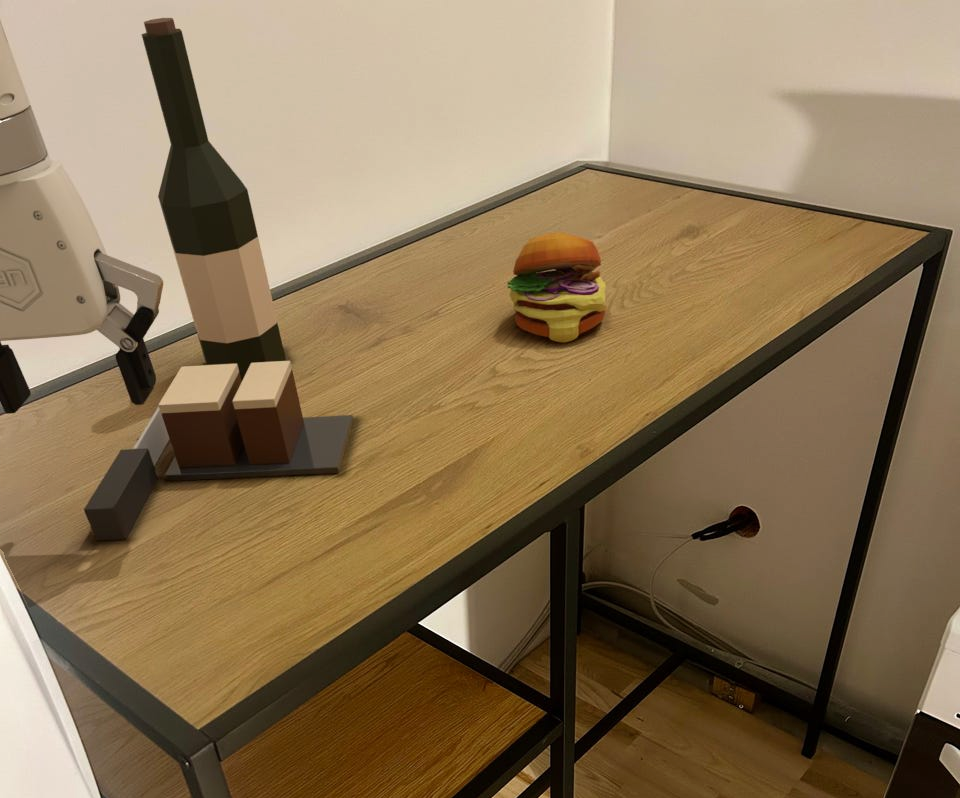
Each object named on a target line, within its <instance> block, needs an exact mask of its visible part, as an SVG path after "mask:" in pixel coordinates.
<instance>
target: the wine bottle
mask: <svg viewBox="0 0 960 798" xmlns="http://www.w3.org/2000/svg"><path fill="white" fill-rule="evenodd" d="M143 25H144V29H145V32H144V33H142V34H141V38H142V42H143V46H144V49H145V53H146V57H147V60H148V64H149V68H150V71H151V75H152V79H153V82H154V87H155V90H156V94H157V98H158V101H159V105H160V109H161V112H162V116H163V117H162V118H163V120H164V123H165V127H166V131H167V135H168V139H169V142H170V147H169V150H168V153H167V159H166V163H165V166H164V171H163V175H162V179H161V183H160V187H159V190H158V195H157V198H158V201H159V204H160V209H161V210H162V216H163V219H164V221H165V222H164V223H165V226H166V229H167V233H168V236H169V241H170V243H171V247H172V250H173V254H174V256H175V260H176V264H177V268H178V271H179V275H180V278H181V281H182V286H183V289H184V292H185V295H186V300H187V303H188V306H189V310H190V313H191V317H192V320H193V325H194V327H195V331H196V335H197V337H198V341H199V344H200V348H201V351H202V356H203V359H204V363H205V365H220V364H237V365H238V369H239V373H240V377H241V381H242V380H243V378H244V376H245V374H246V372H247V370H248V368H249V366H250V364H251V363H257V362H275V361H287V358H286V355H285V350H284V345H283V341H282V337H281V331H280V327H279V323H278V319H277V314H276V311H275V306H274V301H273V298H272V297H273V296H272V293H271V292H272V291H271V289H270V283H269V278H268V274H267V271H266V266H265V261H264V257H263V253H262V248H261V243H260V239H259V235H258V231H257V226H256V221H255V217H254V213H253V212H254V211H253V208H252V205H251V200H250V195H249V189H248V188H247V187H246V186H245V184H244V183H243V181H242V180H241V178H239V176H238V175H237V174H236V172H235V171H234V170H233V169H232V168H231V166H230V165H229V164H228V163H227V161H226V160H225V159H224V158H223V157H222V156H221V154H220V153H219V151H218V150H217V149H216V148H215V146H213V144H212V143H211V142H210V140H209V137H208V133H207V129H206V124H205V121H204V117H203V113H202V109H201V104H200V101H199V96H198V92H197V88H196V84H195V80H194V75H193V72H192V71H193V70H192V68H191V63H190V60H189V55H188V51H187V46H186V43H185V39H184V34H183V30H182V29H180V28H176V24H175V20H174V18H173V17H160V18H152V19H149V20H144V21H143Z"/></svg>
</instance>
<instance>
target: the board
mask: <svg viewBox="0 0 960 798" xmlns="http://www.w3.org/2000/svg"><path fill="white" fill-rule="evenodd" d="M303 420H304V424H303V426H302V429H301V432H300V435H299V438H298V440H297V443H296V446H295V449H294V451H293V454H292V457H291V460H290V463H277V464H256V465H250V464H249V461H248V457H247V453H246V450H245V446H244V447H243V449H242V451H241V454H240V456H239V458H238V461H237V463H236V465H233V466H212V467H191V468H179V466H178V463H177V460H176V457H175V456H174V457H173V458H172V461H171V463H170V465H169V466H168V468H167V469H166V472H165V474H164V478H165V481H166V482H175V481H176V482H177V481H178V482H179V481H197V480H218V479H219V480H220V479H239V478H262V477H280V476H281V477H283V476H304V475H306V476H307V475H325V474H328V475H329V474H339V473H340V470H341V467H342V462H343V460H344V455H345V452H346V449H347V445H348V442H349V438H350V435H351V431H352V428H353V424H354V420H355V419H354V416H353V414H345V415H344V414H343V415H327V416H324V415H323V416H307V417H305V416H303Z"/></svg>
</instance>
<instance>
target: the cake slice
mask: <svg viewBox="0 0 960 798" xmlns="http://www.w3.org/2000/svg"><path fill="white" fill-rule="evenodd" d="M232 402H233V405H234V409H235V413H236V417H237V420H238V424H239V428H240V431H241V435H242V439H243V442H244V446H245V450H246V453H247V457H248V461H249V464H250V465H256V464H277V463H290V460H291V457H292V454H293V451H294V449H295V446H296V443H297V440H298V438H299V435H300V432H301V429H302V426H303V424H304V420H303V418H304V416H303V412H302V407H301V402H300V398H299V393H298V388H297V385H296V379H295V375H294V371H293V367H292V362H291V360H286V361H275V362H257V363H251V364H250V366H249V368H248V370H247V372H246V374H245V376H244V378H243V380H242V382H241V385H240V387H239V389H238V391H237V393H236V395H235V397H234V399H233V401H232Z"/></svg>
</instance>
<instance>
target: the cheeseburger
mask: <svg viewBox="0 0 960 798" xmlns="http://www.w3.org/2000/svg"><path fill="white" fill-rule="evenodd" d="M598 250H599V249H598V248H597V246H596V245H595V243H594V241H592V240H589V239H586V238H584V237H579V236H576V235H573V234H570V233H569V234H568V233H565V232H551V233H546V234H542V235H537V236H534V237H531V238H530V239H529V240H528V241H527V242H526V243H525V244H524V246H522V249H521V250H520V252H519V254H518V256H517V257H516V259H515V262H514V266H513V270H512V273H513V275H514V277H512V278H511V279H510V280H509V281H507V283H506V284H507V289H510V290H509V298H510V299H511V301H512V303H513V304H512V307H513V311H514V319H515V322H516V326H517V327H519V328H520V329H521V330H523V331H526V332H528V333H531V334H533V335H536V336H540V337H545V338H548V339H549V340H551V341H552V342H556V343H563V344H564V343H569V342H572V341H573V340H576V339H577V338H578V336H579V335H581V334H583V333H585V332H587V331H589V330H591V329H593V328H594V327H596V326H597V325H598V324H600V323H601V322H603V321H604V318H605V314H606V313H605V312H606V305H607V303H606V302H607V301H606V297H607V295H606V289H607V285H606V283H605V282H604V280H603V278H602V276H601V272H600V270H596V269H597V268H598V267H600V266H601V265H602V260H601V257H600V254H599V253H600V252H599V251H598ZM595 270H596V271H595Z"/></svg>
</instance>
